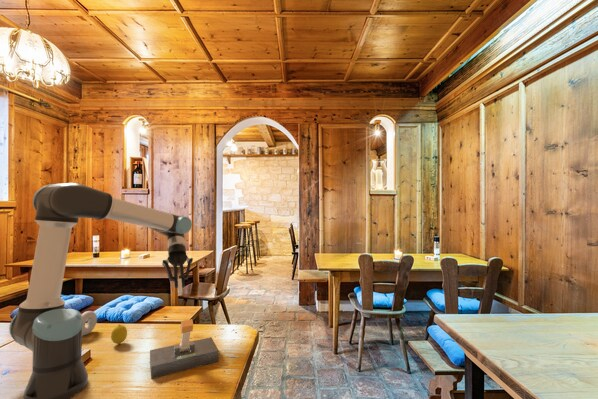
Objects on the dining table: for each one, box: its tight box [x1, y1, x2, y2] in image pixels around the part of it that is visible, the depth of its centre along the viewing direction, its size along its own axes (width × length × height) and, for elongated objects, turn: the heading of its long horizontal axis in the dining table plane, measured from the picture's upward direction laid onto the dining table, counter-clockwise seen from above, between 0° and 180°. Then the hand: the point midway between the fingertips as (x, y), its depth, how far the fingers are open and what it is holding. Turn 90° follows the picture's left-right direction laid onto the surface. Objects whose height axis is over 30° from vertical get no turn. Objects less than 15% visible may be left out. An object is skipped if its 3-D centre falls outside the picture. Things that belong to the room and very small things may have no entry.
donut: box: [81, 310, 98, 337], centre depth 127 cm, size 10×4×10 cm, turn 175°
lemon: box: [110, 324, 128, 345], centre depth 119 cm, size 6×6×8 cm
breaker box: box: [149, 336, 220, 379], centre depth 106 cm, size 22×12×6 cm, turn 119°
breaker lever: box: [180, 318, 194, 351], centre depth 104 cm, size 4×3×14 cm
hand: (180, 294), depth 121 cm, fingers closed
